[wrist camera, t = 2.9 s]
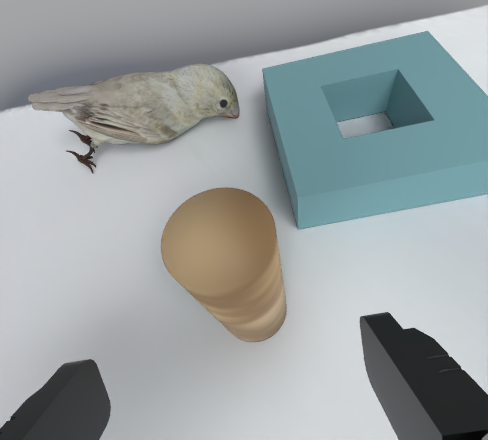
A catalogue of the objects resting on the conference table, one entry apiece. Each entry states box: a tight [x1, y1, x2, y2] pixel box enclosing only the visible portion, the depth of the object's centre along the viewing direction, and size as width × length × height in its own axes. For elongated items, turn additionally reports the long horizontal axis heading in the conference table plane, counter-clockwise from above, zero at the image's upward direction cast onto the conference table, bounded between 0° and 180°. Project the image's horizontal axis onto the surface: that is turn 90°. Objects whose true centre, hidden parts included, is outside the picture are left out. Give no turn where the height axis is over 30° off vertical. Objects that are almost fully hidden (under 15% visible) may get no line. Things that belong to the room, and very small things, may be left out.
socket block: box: [262, 31, 488, 229], centre depth 23 cm, size 14×14×4 cm
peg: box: [161, 188, 286, 342], centre depth 15 cm, size 4×4×10 cm
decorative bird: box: [28, 64, 239, 173], centre depth 26 cm, size 5×16×8 cm, turn 102°
